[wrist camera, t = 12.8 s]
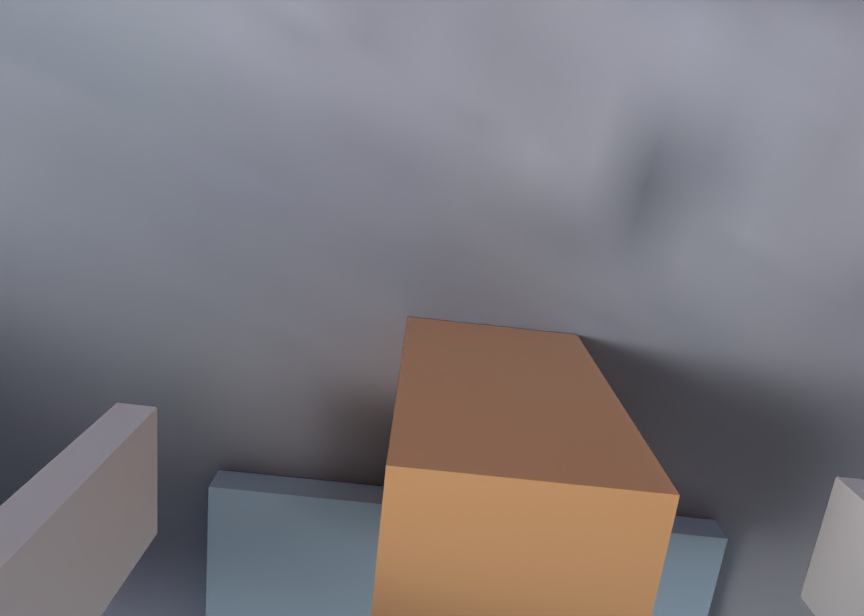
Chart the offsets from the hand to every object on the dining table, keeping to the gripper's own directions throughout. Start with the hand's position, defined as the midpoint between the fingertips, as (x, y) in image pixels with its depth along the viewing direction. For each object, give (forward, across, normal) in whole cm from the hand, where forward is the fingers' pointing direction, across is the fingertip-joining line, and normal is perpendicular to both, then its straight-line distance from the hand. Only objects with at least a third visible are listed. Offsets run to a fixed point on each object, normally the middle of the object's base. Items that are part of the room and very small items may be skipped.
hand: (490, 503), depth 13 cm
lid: (+4, 0, -9) cm, 10 cm away
